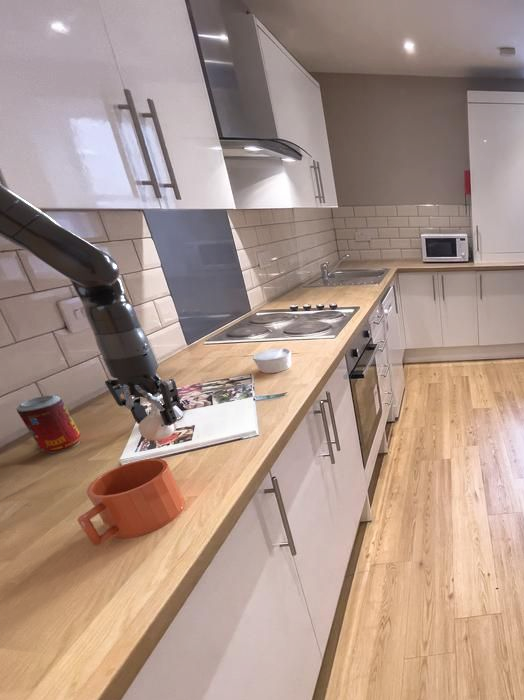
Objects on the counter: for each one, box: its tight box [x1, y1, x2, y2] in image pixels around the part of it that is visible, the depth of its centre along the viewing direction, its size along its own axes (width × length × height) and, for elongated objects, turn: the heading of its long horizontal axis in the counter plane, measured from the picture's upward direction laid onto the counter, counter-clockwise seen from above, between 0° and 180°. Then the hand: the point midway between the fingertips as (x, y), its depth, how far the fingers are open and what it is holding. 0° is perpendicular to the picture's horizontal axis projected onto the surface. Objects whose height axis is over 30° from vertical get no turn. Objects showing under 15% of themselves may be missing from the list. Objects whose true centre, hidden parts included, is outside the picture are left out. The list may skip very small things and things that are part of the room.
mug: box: [77, 458, 186, 547], centre depth 72 cm, size 14×11×9 cm
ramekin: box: [252, 347, 292, 374], centre depth 138 cm, size 11×11×5 cm
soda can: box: [16, 394, 81, 454], centre depth 94 cm, size 7×7×12 cm
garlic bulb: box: [138, 400, 178, 442], centre depth 89 cm, size 7×6×8 cm
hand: (157, 422), depth 89 cm, fingers closed on garlic bulb, 6 cm apart
